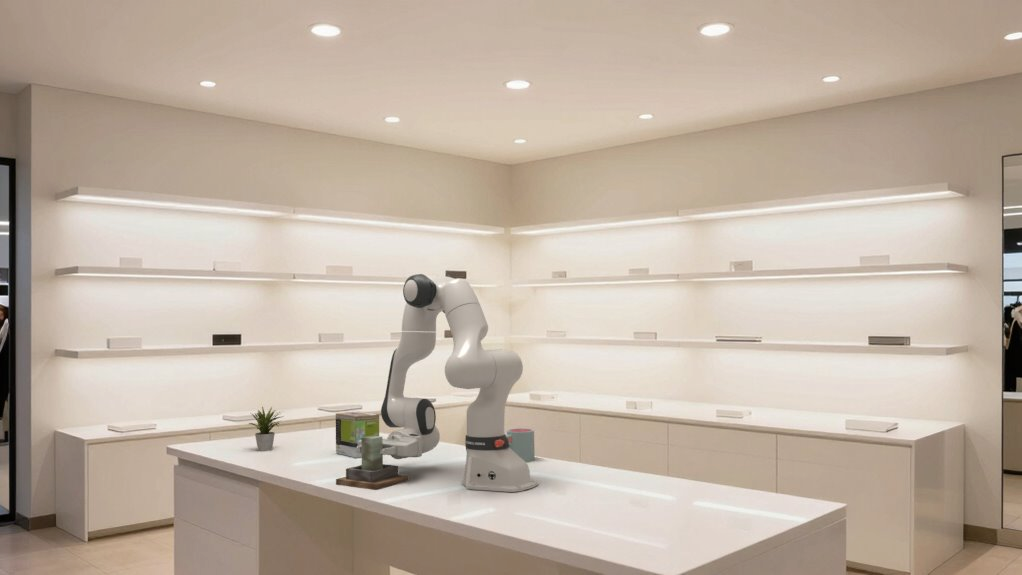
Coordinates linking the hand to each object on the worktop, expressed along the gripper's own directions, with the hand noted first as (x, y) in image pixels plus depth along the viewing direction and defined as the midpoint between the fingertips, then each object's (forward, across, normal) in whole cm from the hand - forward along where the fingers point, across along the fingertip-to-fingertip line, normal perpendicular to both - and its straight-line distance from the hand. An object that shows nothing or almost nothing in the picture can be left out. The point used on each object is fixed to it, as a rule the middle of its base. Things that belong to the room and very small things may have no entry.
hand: (369, 450), depth 249 cm
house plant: (-26, -76, +10) cm, 81 cm away
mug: (-51, +19, +10) cm, 55 cm away
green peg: (-1, 0, +8) cm, 8 cm away
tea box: (-36, -39, +10) cm, 54 cm away
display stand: (-1, 0, +10) cm, 10 cm away
